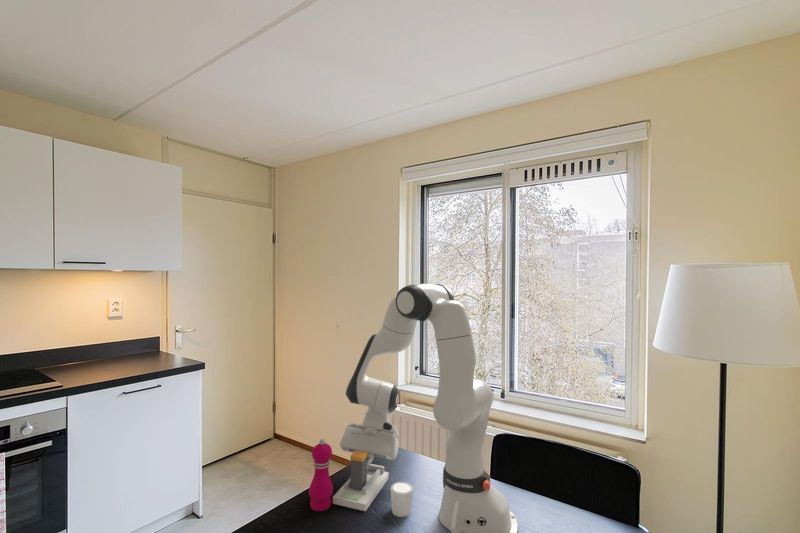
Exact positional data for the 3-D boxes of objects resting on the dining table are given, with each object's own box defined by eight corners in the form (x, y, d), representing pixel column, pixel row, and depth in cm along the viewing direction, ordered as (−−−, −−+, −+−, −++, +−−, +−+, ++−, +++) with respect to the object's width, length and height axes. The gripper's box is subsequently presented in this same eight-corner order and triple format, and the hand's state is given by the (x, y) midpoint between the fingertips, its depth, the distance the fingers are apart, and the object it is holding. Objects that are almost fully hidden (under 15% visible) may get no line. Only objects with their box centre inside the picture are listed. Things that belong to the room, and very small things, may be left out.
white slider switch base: (388, 478, 133) (388, 466, 133) (365, 511, 114) (365, 497, 114) (359, 472, 137) (360, 461, 137) (332, 503, 118) (332, 490, 118)
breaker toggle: (367, 483, 125) (367, 452, 125) (361, 490, 121) (362, 458, 121) (355, 481, 126) (356, 450, 126) (349, 488, 122) (350, 455, 123)
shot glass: (413, 518, 111) (413, 494, 111) (389, 517, 111) (390, 493, 111) (412, 504, 118) (413, 481, 118) (390, 503, 118) (390, 480, 118)
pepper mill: (319, 515, 112) (321, 446, 112) (303, 506, 116) (305, 439, 116) (337, 504, 117) (339, 438, 118) (321, 495, 122) (323, 432, 122)
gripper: (345, 418, 137) (331, 458, 127) (399, 427, 130) (388, 470, 121) (350, 426, 141) (337, 466, 132) (403, 435, 134) (393, 477, 125)
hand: (362, 468), depth 126 cm, fingers closed, pressing on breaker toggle
